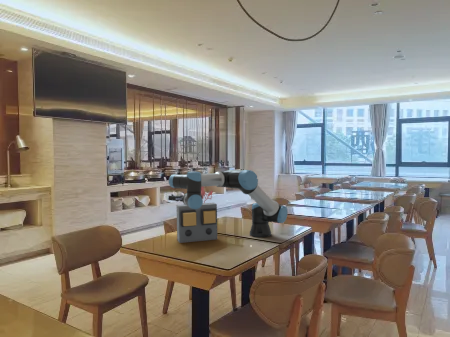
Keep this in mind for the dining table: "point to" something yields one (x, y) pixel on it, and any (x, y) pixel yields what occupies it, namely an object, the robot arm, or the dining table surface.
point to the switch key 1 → (189, 219)
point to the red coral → (205, 193)
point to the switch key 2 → (209, 216)
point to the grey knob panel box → (200, 229)
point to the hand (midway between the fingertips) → (183, 196)
